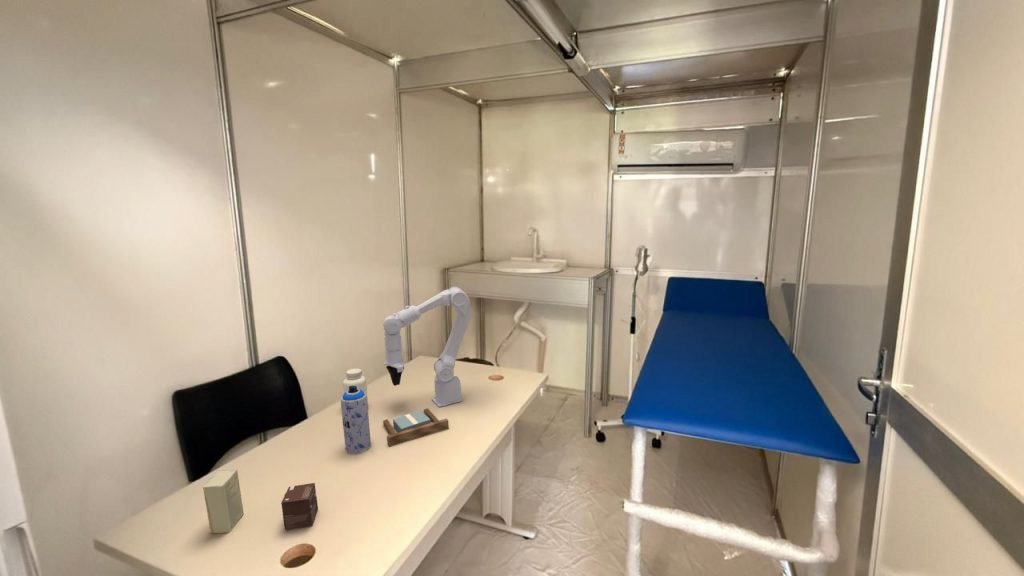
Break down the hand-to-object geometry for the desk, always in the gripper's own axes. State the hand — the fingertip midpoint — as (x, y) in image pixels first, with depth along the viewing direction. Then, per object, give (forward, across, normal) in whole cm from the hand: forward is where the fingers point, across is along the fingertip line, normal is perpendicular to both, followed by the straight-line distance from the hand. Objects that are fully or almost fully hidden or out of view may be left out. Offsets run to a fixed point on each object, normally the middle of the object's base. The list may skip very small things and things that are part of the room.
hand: (396, 384), depth 153 cm
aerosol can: (+10, +19, -18) cm, 28 cm away
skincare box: (+10, +36, -51) cm, 63 cm away
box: (+10, +44, -36) cm, 58 cm away
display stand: (+9, +17, 0) cm, 19 cm away
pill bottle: (+10, -8, -13) cm, 18 cm away
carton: (+10, +17, 0) cm, 19 cm away
